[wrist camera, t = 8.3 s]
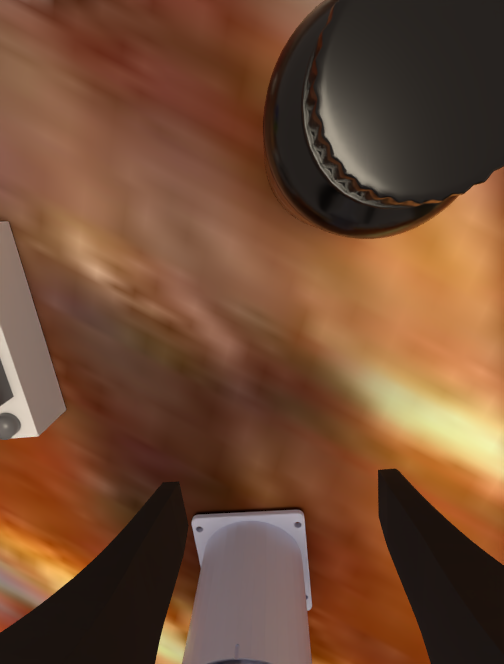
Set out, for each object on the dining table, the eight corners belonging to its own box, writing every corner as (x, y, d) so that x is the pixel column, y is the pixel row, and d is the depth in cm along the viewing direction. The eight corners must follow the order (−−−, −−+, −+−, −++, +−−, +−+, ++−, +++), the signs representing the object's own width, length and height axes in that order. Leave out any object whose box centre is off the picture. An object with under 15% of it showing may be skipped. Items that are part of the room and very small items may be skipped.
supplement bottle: (244, 197, 19) (206, 173, 8) (299, 56, 17) (355, -262, 6) (360, 249, 20) (483, 297, 8) (427, 118, 18) (714, -60, 6)
